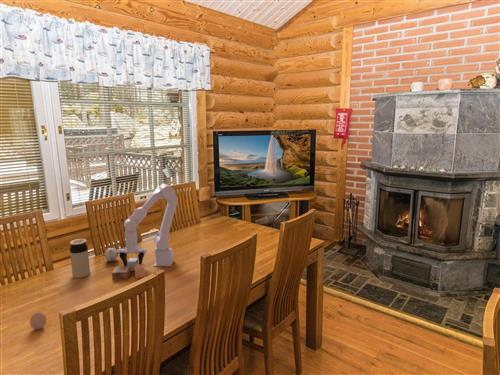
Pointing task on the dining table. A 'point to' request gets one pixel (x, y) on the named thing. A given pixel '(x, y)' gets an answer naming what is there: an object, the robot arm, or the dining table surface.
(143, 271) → the terracotta block
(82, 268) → the travel mug
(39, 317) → the egg
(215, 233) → the dining table surface
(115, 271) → the walnut base
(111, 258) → the pale grey round lump
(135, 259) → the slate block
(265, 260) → the dining table surface
